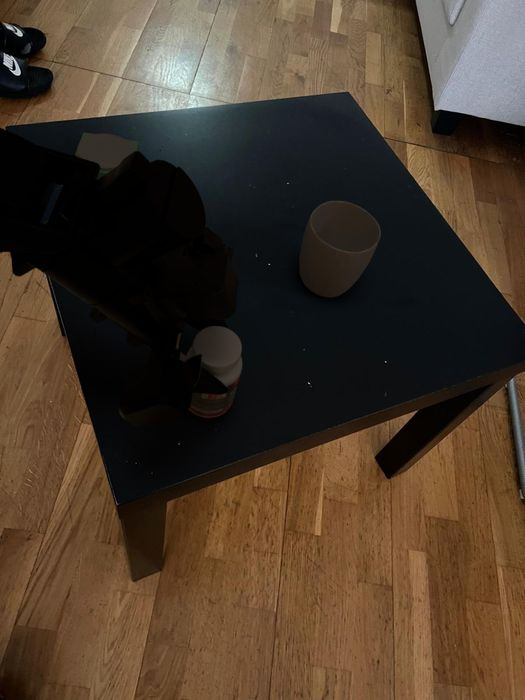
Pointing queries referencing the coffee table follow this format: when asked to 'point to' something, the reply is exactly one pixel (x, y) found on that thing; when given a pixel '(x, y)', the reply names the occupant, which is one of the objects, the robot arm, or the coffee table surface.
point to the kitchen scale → (105, 150)
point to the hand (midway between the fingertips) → (227, 366)
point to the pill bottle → (217, 368)
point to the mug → (337, 247)
